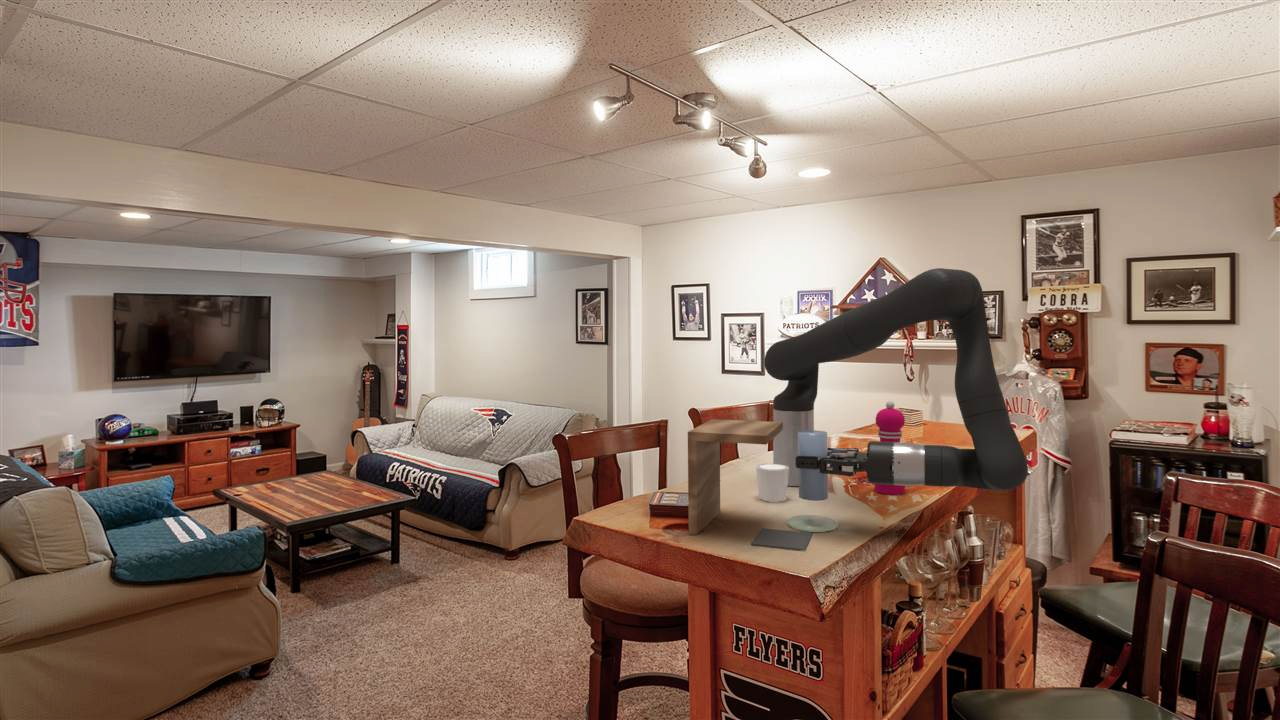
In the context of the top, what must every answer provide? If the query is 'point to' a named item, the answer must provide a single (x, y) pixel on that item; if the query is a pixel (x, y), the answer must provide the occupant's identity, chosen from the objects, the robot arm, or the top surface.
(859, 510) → the top surface
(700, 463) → the shelf
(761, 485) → the white cup
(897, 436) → the pepper mill
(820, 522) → the coaster
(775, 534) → the drip mat
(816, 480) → the blue pillar candle
